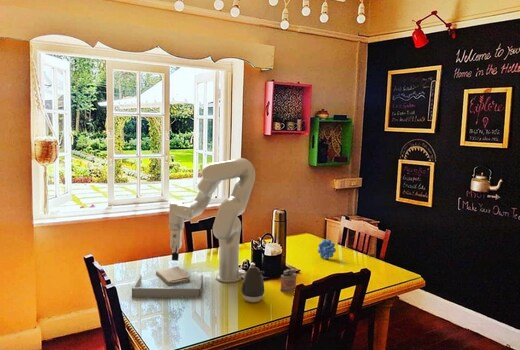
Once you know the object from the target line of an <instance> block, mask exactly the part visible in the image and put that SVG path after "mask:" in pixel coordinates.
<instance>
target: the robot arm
mask: <svg viewBox="0 0 520 350" xmlns="http://www.w3.org/2000/svg"><path fill="white" fill-rule="evenodd" d="M201 176H202V178H201V179H200V181H199V182H198V183H197V189H198V190H199V192H198V194H197V195H196V197H195V198H194V200H193V201H192V202H189V203H186V204H185V202H183V201H180V200H174V201H171V202H170V203H169V214H168V229H169V230H170V249H171V251H172V252H171V261H177V262H178V261H179V256H180V255H179V252H180V251H179V250H180V249H181V248H182V246H183V230H184V228H185V220H186V221H187V220H192V219H194V218H196V217H198V216H200V215H202V213H203V212H204V211H205V210H206V209H207V207H208V205H209V204H210V202H211V200H212V197H213V194H214V192H215V191H216V189H217V188H218V186H219V185H220V184H221V182H223V181H226V180H233V179H237V180H236V181H235V184H234V186H233V189H232V191H231V194H230V196H229V197H228V198H226V199H224V200H223V201H222V202H221V203H220V205H219V207H218V210H217V213H216V217H215V218H214V222H213V224H212V225H213V226H212V233H213V235H214V237H215V238H216V239H218V240H219V253H218V254H219V257H218V258H219V259H218V260H219V261H218V273H216V274H215V279H216V281H218V282H222V283H227V284H229V283H236V282H239V281H241V279H242V276H244V277H245V274H246V272H247V271H246V270H244V269H243V270H241V269H240V267H239V262H240V261H239V260H240V238H241V231H242V221H241V220H240V218H239V217H238V216H240V215H242V214H243V213H245V211H246V208H247V205H248V202H249V200H250V196H251V193H252V190H253V187H254V184H255V181H256V170H255V167H254V165H253V163H251V161H249V160H248V159H246V158H243V157H237V158H235V159H231V160H226V161H225V160H224V161H220V162H219V161H217V162H216V161H214V162H211V163H208V164H206V165H204V167H203V168H202V171H201Z"/></svg>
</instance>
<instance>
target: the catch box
mask: <svg viewBox="0 0 520 350" xmlns="http://www.w3.org/2000/svg"><path fill="white" fill-rule="evenodd" d="M203 280H204V275H203V274H202V275H200V280H199V285H198V287H140V286H141V285H142V274H139V275H138V277H137V279H136V280H135V282H134V284H133V285H132V287H131V298H132V297H133V298H196V299H197V298H201V295H202V289H203V283H204V281H203Z"/></svg>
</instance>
